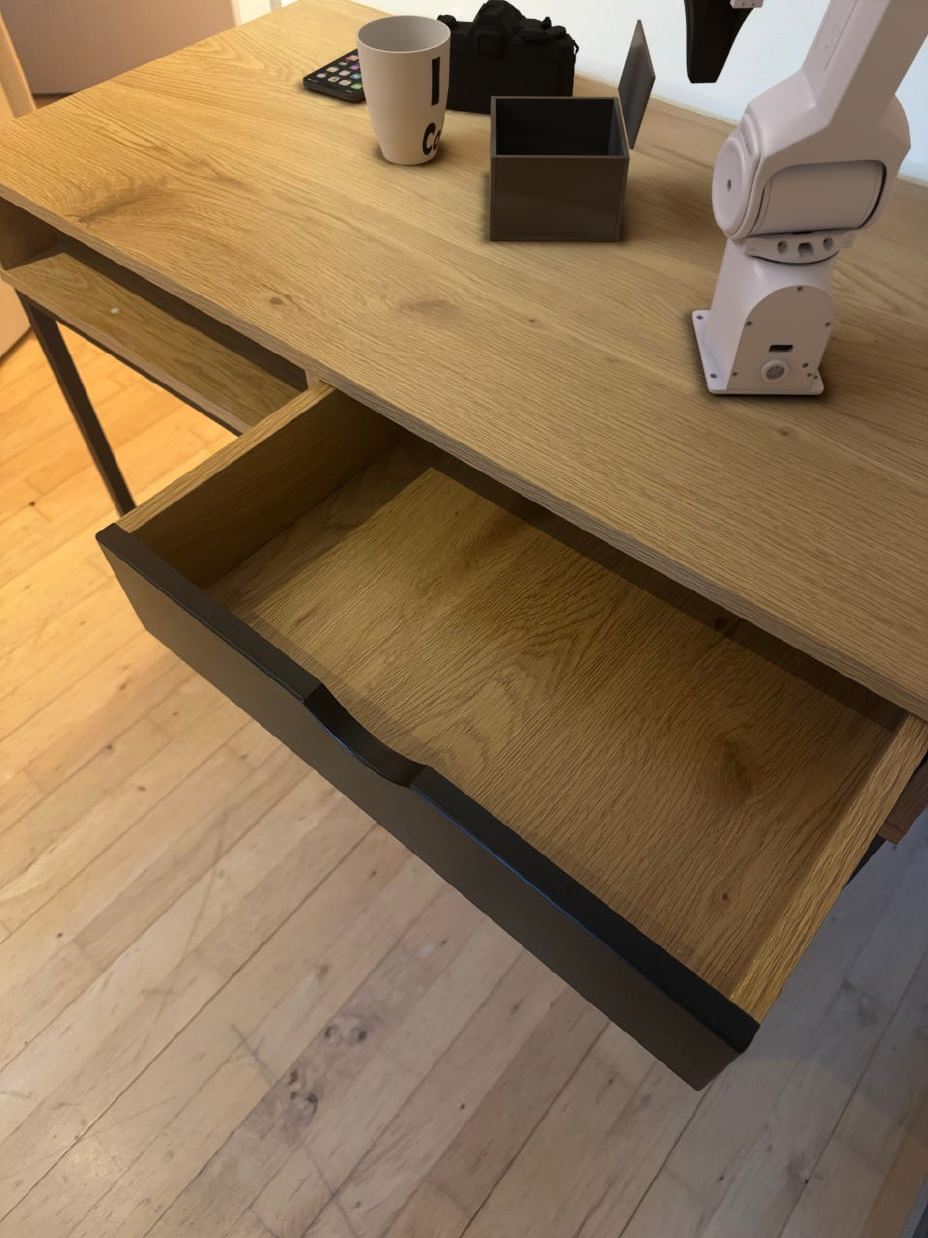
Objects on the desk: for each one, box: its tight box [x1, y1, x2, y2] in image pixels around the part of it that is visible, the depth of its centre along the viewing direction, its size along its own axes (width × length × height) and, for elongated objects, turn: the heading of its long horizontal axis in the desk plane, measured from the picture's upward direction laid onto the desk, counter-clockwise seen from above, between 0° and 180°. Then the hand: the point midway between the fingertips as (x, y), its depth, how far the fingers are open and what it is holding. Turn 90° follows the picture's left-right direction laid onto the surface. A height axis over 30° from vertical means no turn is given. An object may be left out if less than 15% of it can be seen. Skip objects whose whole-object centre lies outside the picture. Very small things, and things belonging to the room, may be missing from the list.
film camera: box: [436, 0, 580, 115], centre depth 89 cm, size 15×10×9 cm, turn 74°
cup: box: [355, 14, 450, 166], centre depth 81 cm, size 8×8×10 cm
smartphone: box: [302, 47, 366, 102], centre depth 96 cm, size 7×1×15 cm
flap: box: [617, 19, 657, 150], centre depth 71 cm, size 11×5×1 cm
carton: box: [488, 96, 631, 242], centre depth 76 cm, size 11×11×7 cm
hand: (701, 79), depth 71 cm, fingers closed
